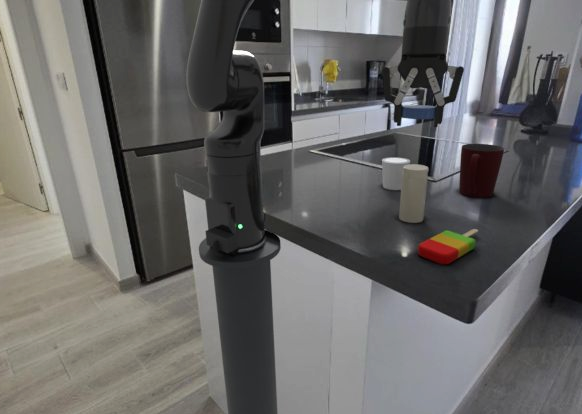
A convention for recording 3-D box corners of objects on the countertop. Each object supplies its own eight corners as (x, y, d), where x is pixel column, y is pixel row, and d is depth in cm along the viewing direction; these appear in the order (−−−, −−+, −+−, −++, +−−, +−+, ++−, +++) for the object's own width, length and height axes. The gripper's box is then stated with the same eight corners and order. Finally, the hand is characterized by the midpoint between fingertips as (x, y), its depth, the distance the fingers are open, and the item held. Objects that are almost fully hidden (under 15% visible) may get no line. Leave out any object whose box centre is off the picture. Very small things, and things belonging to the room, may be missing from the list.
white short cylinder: (393, 192, 92) (396, 164, 90) (374, 185, 98) (376, 159, 95) (413, 187, 96) (416, 160, 93) (394, 181, 101) (396, 155, 99)
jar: (418, 224, 73) (423, 171, 70) (394, 219, 76) (398, 167, 72) (427, 217, 77) (432, 166, 73) (404, 212, 80) (408, 163, 76)
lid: (412, 114, 74) (413, 104, 73) (441, 117, 70) (442, 106, 69) (394, 117, 70) (395, 106, 70) (423, 120, 66) (424, 109, 65)
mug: (488, 205, 83) (497, 155, 79) (447, 198, 88) (453, 150, 84) (499, 191, 92) (507, 146, 88) (461, 185, 97) (467, 142, 93)
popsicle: (414, 254, 62) (415, 244, 61) (461, 230, 71) (462, 220, 70) (445, 267, 58) (446, 256, 57) (491, 239, 67) (492, 229, 66)
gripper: (469, 26, 66) (456, 124, 72) (385, 29, 70) (379, 122, 76) (474, 22, 59) (459, 130, 65) (381, 25, 63) (375, 127, 69)
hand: (416, 125), depth 71 cm, fingers closed on lid, 6 cm apart
